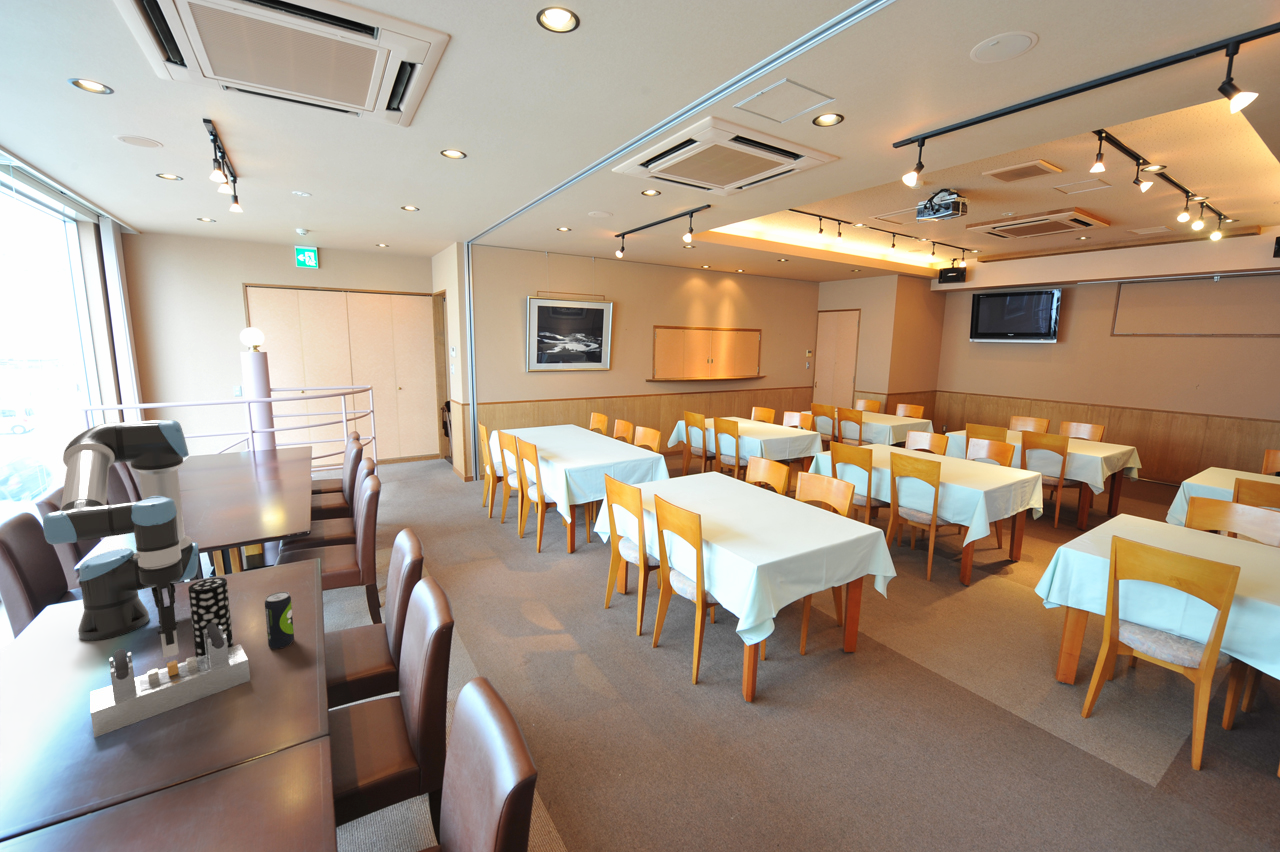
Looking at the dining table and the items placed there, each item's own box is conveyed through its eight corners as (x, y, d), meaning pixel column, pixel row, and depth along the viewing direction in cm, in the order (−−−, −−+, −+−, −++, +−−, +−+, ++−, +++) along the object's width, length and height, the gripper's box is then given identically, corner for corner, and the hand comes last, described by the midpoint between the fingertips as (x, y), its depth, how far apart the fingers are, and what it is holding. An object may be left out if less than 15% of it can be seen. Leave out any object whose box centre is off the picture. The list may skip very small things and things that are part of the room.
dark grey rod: (206, 631, 135) (205, 624, 134) (216, 628, 136) (215, 621, 136) (215, 651, 126) (214, 643, 126) (225, 648, 127) (224, 640, 127)
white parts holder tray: (93, 715, 120) (86, 662, 118) (242, 664, 140) (237, 618, 139) (94, 737, 113) (86, 682, 111) (250, 680, 134) (245, 632, 132)
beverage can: (263, 647, 149) (259, 598, 147) (285, 636, 154) (281, 589, 152) (277, 652, 146) (273, 603, 144) (299, 641, 152) (295, 593, 150)
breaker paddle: (167, 672, 126) (166, 663, 126) (177, 669, 127) (176, 660, 127) (168, 676, 125) (167, 666, 124) (178, 673, 126) (177, 663, 126)
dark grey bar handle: (114, 658, 122) (113, 650, 122) (126, 654, 124) (125, 647, 124) (116, 682, 114) (115, 674, 113) (129, 678, 115) (128, 670, 115)
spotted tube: (211, 660, 142) (204, 592, 139) (187, 656, 144) (180, 588, 141) (240, 643, 150) (234, 579, 147) (217, 640, 152) (210, 576, 149)
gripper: (136, 559, 124) (147, 650, 127) (140, 576, 115) (152, 673, 118) (177, 551, 129) (187, 638, 132) (184, 566, 120) (195, 659, 124)
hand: (171, 654), depth 125 cm, fingers closed
